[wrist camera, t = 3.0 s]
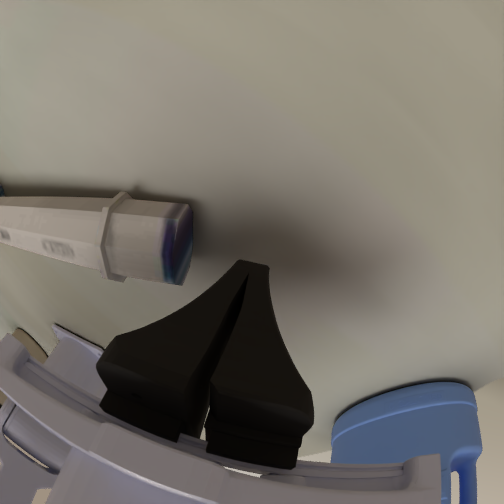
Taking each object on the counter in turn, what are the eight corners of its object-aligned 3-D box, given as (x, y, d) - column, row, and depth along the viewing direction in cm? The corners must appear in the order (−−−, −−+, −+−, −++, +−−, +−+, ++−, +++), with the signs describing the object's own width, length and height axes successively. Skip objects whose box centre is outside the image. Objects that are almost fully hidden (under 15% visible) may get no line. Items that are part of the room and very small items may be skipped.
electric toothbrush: (176, 316, 13) (-54, 252, 13) (203, 242, 18) (-15, 216, 18) (167, 218, 10) (-71, 202, 10) (206, 165, 15) (-26, 170, 15)
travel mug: (35, 354, 37) (-9, 421, 22) (11, 323, 33) (-39, 393, 18) (56, 365, 35) (9, 442, 20) (30, 332, 31) (-26, 413, 16)
